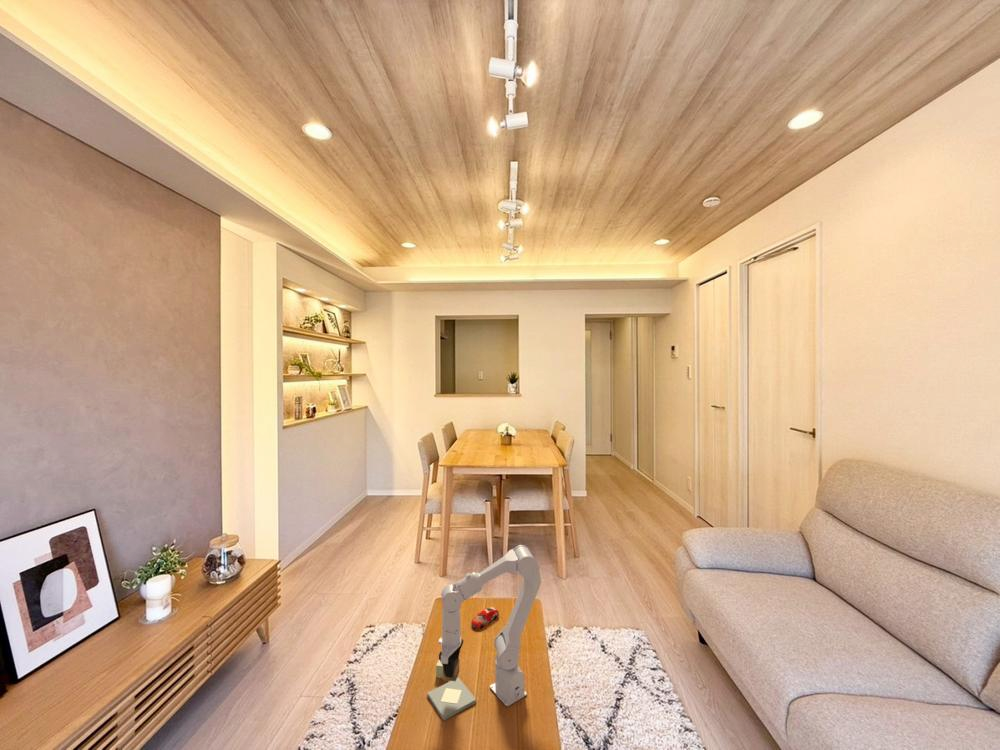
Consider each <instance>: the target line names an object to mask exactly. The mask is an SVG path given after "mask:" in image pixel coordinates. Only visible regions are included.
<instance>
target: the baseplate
mask: <svg viewBox="0 0 1000 750" xmlns="http://www.w3.org/2000/svg"><path fill="white" fill-rule="evenodd" d="M426 695H427V698H428V699H429V701H430V702H431V704H432V705H433V707H434V709H435V710H436V712H437V713H438V714H439V716H440V717H441V719H442V721H446V720H448V719H449V718H452V717H453V716H455V715H457V714H458V713H460V712H463V711H464V710H465V709H467V708H469V707H470V706H473V705H474V704H476V703H477V699H476V698H475V696H474V695H473V693H472V692H471V691H470V690H469V689H468V687H467V686H466V685H465V683H464V682H463V681H462V680H461V679H460V677H457V679H456V681H448V682H446V683H444V684H442V685H439V687H436V688H434V689H432V690H430V691H428V692H427V694H426Z"/></svg>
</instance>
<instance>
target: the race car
mask: <svg viewBox="0 0 1000 750" xmlns="http://www.w3.org/2000/svg"><path fill="white" fill-rule="evenodd" d="M499 615H500V614H499V610H498V608H496V607H493V606H490V607H487V608H484V609H483V610H481V611H480V612H479V613H477V615H476V616H475V617H474V618H472V619H471V627H472V628H473V629H476V630H482V629H483V628H484V627H486V626H488V625H490V623H492V622H494V621H496V620H497V618H499Z"/></svg>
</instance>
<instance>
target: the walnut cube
mask: <svg viewBox="0 0 1000 750" xmlns="http://www.w3.org/2000/svg"><path fill="white" fill-rule="evenodd" d="M459 673H460V658H459V659H456V661H455V666H454V673H453V677H452V678H450V677H446V676H445V672H444V668H443V678H442V680H443V681H448V682H450V681H456V679H457V678H458V676H459Z"/></svg>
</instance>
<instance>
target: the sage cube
mask: <svg viewBox="0 0 1000 750" xmlns="http://www.w3.org/2000/svg"><path fill="white" fill-rule="evenodd" d="M435 678H437V679H439V678H440V679H443V665H442V663H441V661H440V660H439V659H438V660H437V663H436V665H435Z"/></svg>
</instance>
